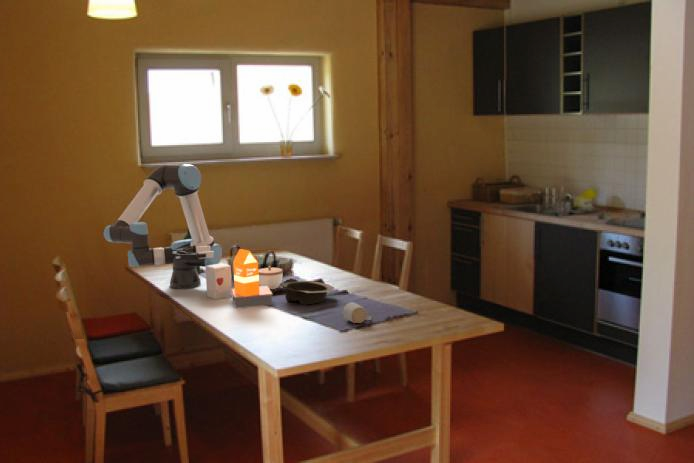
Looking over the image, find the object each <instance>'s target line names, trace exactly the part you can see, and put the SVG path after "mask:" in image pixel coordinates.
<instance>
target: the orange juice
mask: <svg viewBox="0 0 694 463" xmlns="http://www.w3.org/2000/svg"><path fill="white" fill-rule="evenodd" d="M232 263H233V280H234V285H233V286H234V288H235V293H236V294H239V295H242V296H250V295H255V294H259V286H260V284H259V275H258V270H259V261H257V259H256V258H255V257H254V255H253V254H252V252H251V251H250V250H248V249H243V248H239V249H238V252H237V254H236V255H235V258H234V260H232Z"/></svg>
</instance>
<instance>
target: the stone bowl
mask: <svg viewBox="0 0 694 463" xmlns="http://www.w3.org/2000/svg"><path fill="white" fill-rule="evenodd" d="M280 286H281V287H282V289H284V290H286V292H285V300H286V301H287V302H299V303H300V304H301V305H306V306H307V305H310V304H311V305H315V304H317V303H323V301H324V300H325V298H326V296H327V293H328V292H332V291H333V290H335V287H334V286H333V285H330V284H328V283H324V282H320V281H314V280H307V281H306V280H304V281H303V280H301V281H300V280H297V279H295V278H288V279H286V280H284V281H283V282H281V283H280Z"/></svg>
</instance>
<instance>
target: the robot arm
mask: <svg viewBox="0 0 694 463" xmlns="http://www.w3.org/2000/svg"><path fill="white" fill-rule="evenodd" d="M201 184H202V174H201V172H200V169H199V168H197V166H195V165H193V164H188V163H183V164H181V163H176V164H175V163H166V164H162V165H160V166H159V167H157V168H155V169H154V170H153V171H152V172H150V174H149V175H147V177H146V178H145V179H144V180H143V186H142V187H141V188H140V189H139V191H138V192H137V193H136V195H135V196H134V198H133V199H132V200H131V201H130V203H128V205H127V206H126V208H125V209H124V211H123V212H122V214H121V215H120V216H119V218H118V219H117V220H116V222H115V223H114V224H111V225H107V226H106V227H105V228H104V230H103V237H104V239H105V240H106V242H110V243H114V244H117V243H119V244H122V243H123V244H131V249H129V250H127V257H128V258H127V260H128V266H129V267H130V268H131V267H149V266H157V267H159V266H160V265H164V264H166V265H169V264H171V265H172V271H171V272H172V273H171V277H170V280H169V286H170V288H172V289H189V288H196V287H199V286H201V283H202V282H201V277H200V276H199V274H198V273H197V270H196V266H200V267H202V268H203V267H204V268H206V266H207V265H214V264H220V262H221V259H222V256H223V249H222V246H221V245H220V244H218V243H216V242H215V238H214V237H213V236H211V235H210V233H209V228H208V225H207V223H206V219H205V216H204V212H203V209H202V204H201V201H200V198H199V194H198V192H199V190H200V187H201ZM168 189H172V190H173V192H174V195H175V196H176V197H178V198H179V200H180V204H181V207H182V211H183V215H184V217H185V218H184V219H186V220H185V221H186V223H187V224H188V228H189V231H190V234H191V238H192V239H186V240H183V239H181V240H176V241H173V242H172V243H171V246H164V247H153V248H150V241H149V240H150V238H149V229H148V224H147V222H144V221H140V219H141V218H142V216H143V215H144V214H145V212H146V211H147V209H148V208H149V207H150V206H151V204H152V203H153V202H154V200H155V198H156V197H157V196H159V195H161V194H162V193H163V192H164V191H165V190H168ZM188 228H187V229H188Z"/></svg>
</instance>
